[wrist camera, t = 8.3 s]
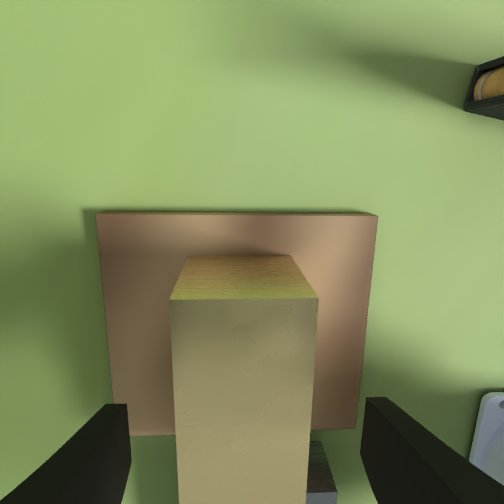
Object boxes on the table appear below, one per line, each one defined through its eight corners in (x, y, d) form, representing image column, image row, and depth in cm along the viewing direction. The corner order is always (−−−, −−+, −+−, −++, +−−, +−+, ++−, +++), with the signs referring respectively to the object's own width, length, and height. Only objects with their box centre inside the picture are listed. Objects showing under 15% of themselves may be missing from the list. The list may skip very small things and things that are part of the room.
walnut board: (370, 213, 16) (378, 216, 15) (350, 417, 19) (355, 428, 18) (102, 211, 15) (95, 214, 15) (121, 425, 18) (116, 436, 17)
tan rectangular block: (290, 255, 16) (319, 297, 11) (283, 427, 18) (304, 526, 13) (187, 255, 15) (169, 299, 10) (193, 430, 17) (180, 533, 13)
